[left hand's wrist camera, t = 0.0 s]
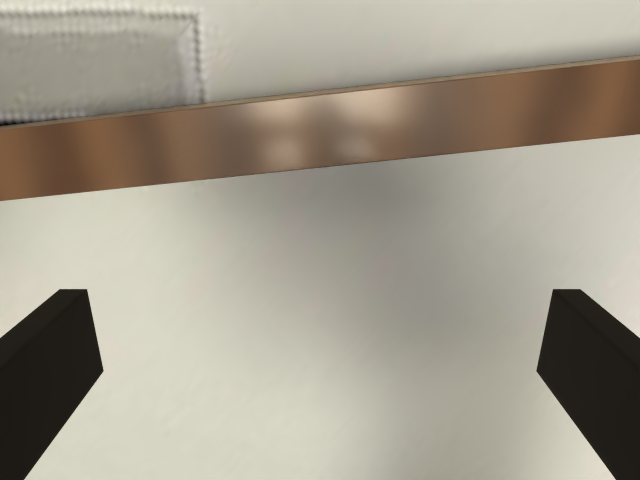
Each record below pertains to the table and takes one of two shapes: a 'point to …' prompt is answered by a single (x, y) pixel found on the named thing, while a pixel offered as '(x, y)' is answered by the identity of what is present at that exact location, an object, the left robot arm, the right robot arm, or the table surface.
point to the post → (322, 128)
